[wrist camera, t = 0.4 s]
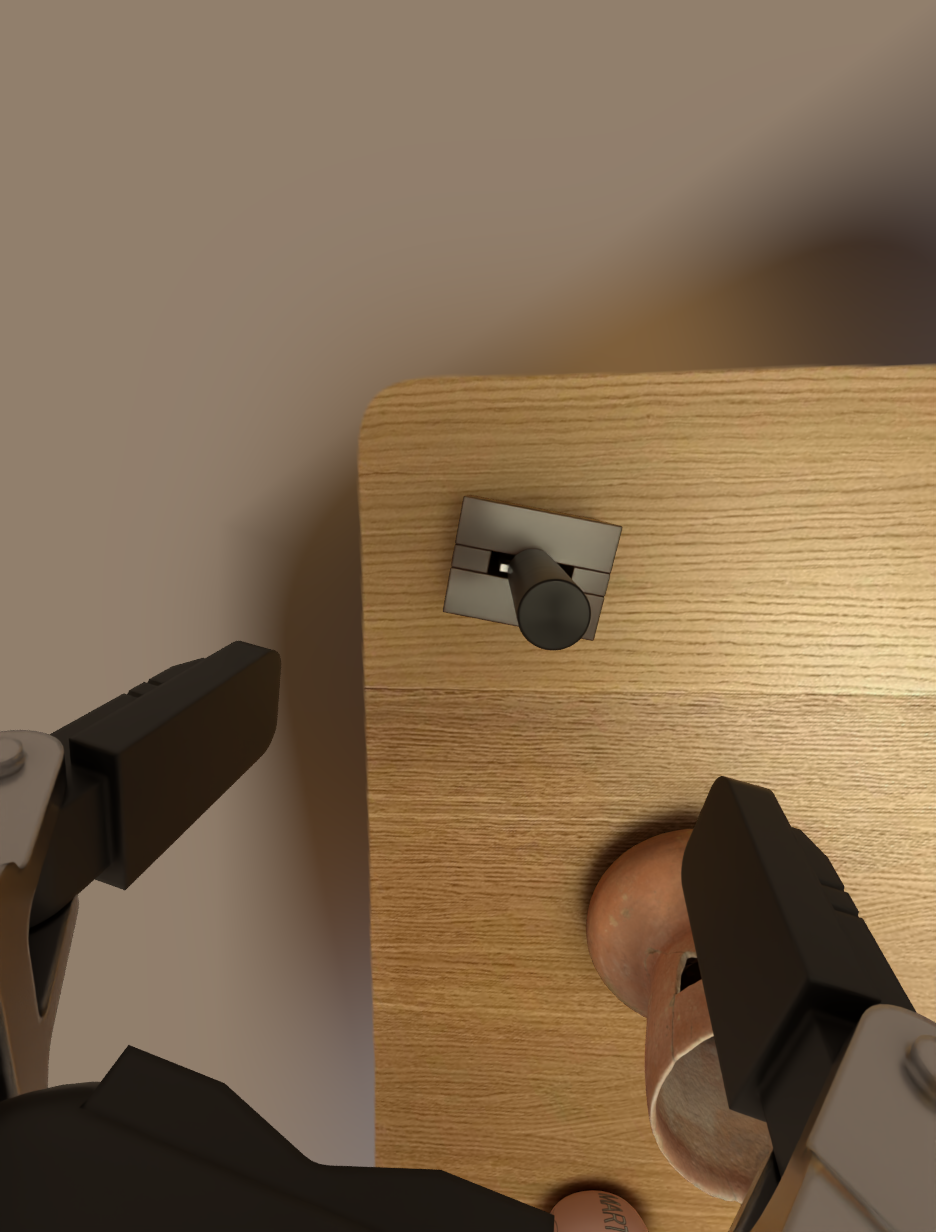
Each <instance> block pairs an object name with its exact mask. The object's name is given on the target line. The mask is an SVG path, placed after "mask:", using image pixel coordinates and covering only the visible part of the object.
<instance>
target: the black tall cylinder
mask: <svg viewBox="0 0 936 1232" xmlns="http://www.w3.org/2000/svg"><path fill="white" fill-rule="evenodd" d="M497 557H498V565H499V571H501V572H506V573H508V581H509V586H510V590H511V595H512V599H513V604H514V608H515V613H516V617H517V622H518V625H519V628H520V631H521V632H522V634H523V636H524V637H525V638H526V639H527V640H528V641H529V642H530V643H532V644H533V645H535V646H536V647H539V648H541V649H545V650H561V649H565V648H567V647H570V646H572V645H574V644H575V643H576V642H578V641H579V640H580V639H581V638H582V637H583V635H584V634H585V633H586V631H587V629H588V627H589V624H590V620H591V607H590V603H589V600H588V598H587V596H586V594H585V593H584V592H583V590H582V589H581V588H580V587H579V586H578V585H577V584H576V583H575V582H574V581H573V580H572V579H571V578H570V577H569V576H568V575H567V574H566V572H565V571H564V570H563V569H562V568H561V567H560V566H559V565H558V564H557V563H556V562H555V561H554V560H553V559H552V558H551V557H550V556H549V555H548V554H547V553H545V552H544V551H541V550H538V549H528V550H524V551H522V552H520V553H518V554H517V555H511V554H506V553H501V552H497Z"/></svg>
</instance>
